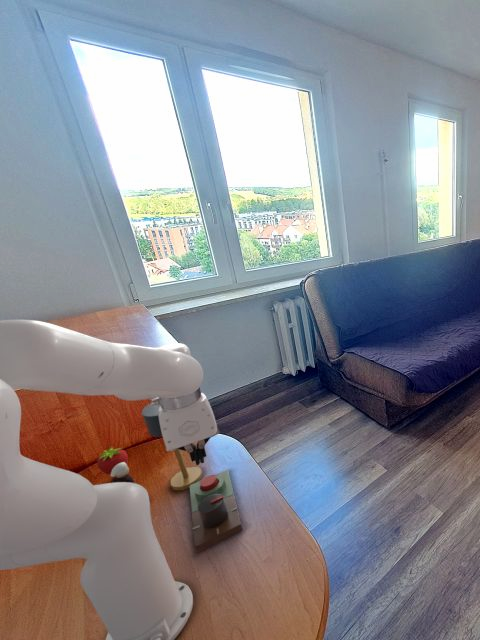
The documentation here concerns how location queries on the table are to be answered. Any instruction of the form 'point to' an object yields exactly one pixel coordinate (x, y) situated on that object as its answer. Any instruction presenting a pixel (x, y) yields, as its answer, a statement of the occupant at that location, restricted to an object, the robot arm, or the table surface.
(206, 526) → the dimmer knob
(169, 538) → the table surface
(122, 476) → the grandmother figurine
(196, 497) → the switch base
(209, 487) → the lamp switch
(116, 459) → the strawberry
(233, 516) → the dimmer panel
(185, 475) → the desk lamp
